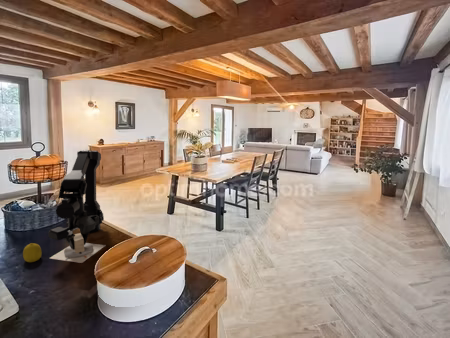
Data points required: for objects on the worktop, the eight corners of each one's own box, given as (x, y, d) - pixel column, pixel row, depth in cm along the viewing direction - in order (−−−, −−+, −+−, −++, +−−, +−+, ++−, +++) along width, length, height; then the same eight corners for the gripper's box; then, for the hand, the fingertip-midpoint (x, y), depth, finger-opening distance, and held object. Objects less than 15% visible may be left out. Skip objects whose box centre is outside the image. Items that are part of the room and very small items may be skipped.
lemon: (32, 268, 93) (30, 247, 92) (20, 265, 94) (17, 245, 93) (46, 260, 99) (44, 240, 97) (34, 258, 100) (31, 239, 98)
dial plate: (76, 244, 111) (76, 241, 111) (106, 248, 109) (105, 245, 108) (49, 261, 98) (49, 257, 97) (82, 266, 95) (81, 262, 95)
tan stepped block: (63, 249, 104) (61, 235, 103) (90, 242, 110) (89, 229, 109) (65, 259, 96) (64, 245, 95) (95, 252, 102) (94, 238, 101)
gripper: (65, 221, 88) (69, 263, 91) (110, 205, 105) (112, 241, 107) (45, 215, 92) (49, 255, 95) (91, 201, 109) (94, 236, 112)
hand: (78, 246), depth 102 cm, fingers closed on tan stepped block, 4 cm apart
